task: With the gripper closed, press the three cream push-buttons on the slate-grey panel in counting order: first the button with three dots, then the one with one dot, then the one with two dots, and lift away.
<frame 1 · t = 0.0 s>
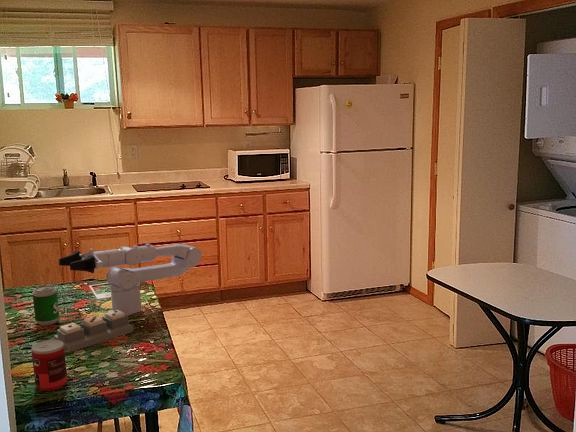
hand: (64, 264, 188), 22 cm above the table, tool horizontal, fingers open, 7 cm apart
three pip button: (93, 322, 185), point 5 cm above the table, slide at 0.0 cm
button panel: (94, 336, 186), on the table
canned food: (51, 385, 155), on the table
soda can: (47, 322, 198), on the table
two pip button: (115, 315, 190), point 5 cm above the table, slide at 0.0 cm
one pip button: (70, 329, 179), point 5 cm above the table, slide at 0.0 cm
photo frame: (112, 291, 230), on the table
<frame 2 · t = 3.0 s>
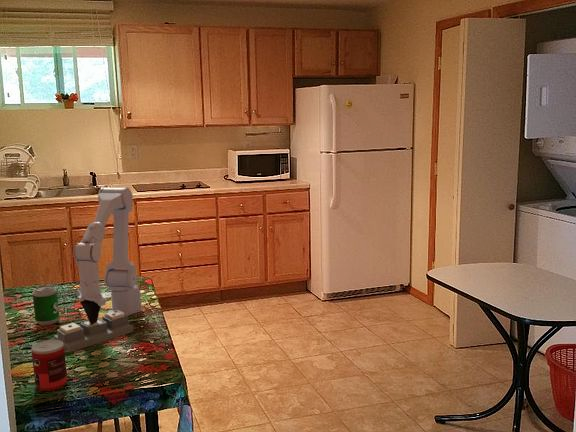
hand: (93, 322, 185), 5 cm above the table, tool pointing down, fingers closed, pressing on three pip button
three pip button: (93, 324, 185), point 4 cm above the table, slide at 0.9 cm, touching gripper
everything else where it was.
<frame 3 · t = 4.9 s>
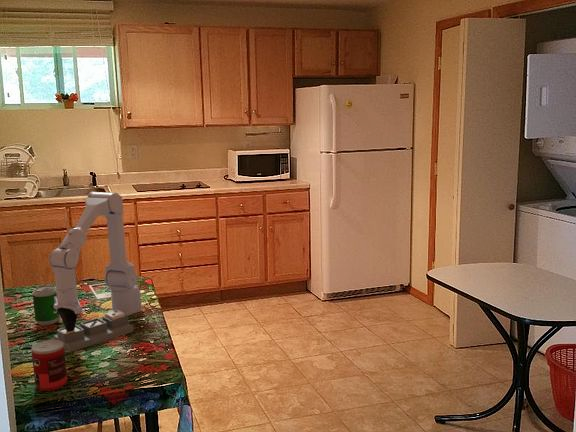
hand: (70, 330, 179), 4 cm above the table, tool pointing down, fingers closed, pressing on one pip button
three pip button: (93, 326, 185), point 3 cm above the table, slide at 1.5 cm
one pip button: (70, 333, 180), point 3 cm above the table, slide at 1.3 cm, touching gripper
everything else where it was.
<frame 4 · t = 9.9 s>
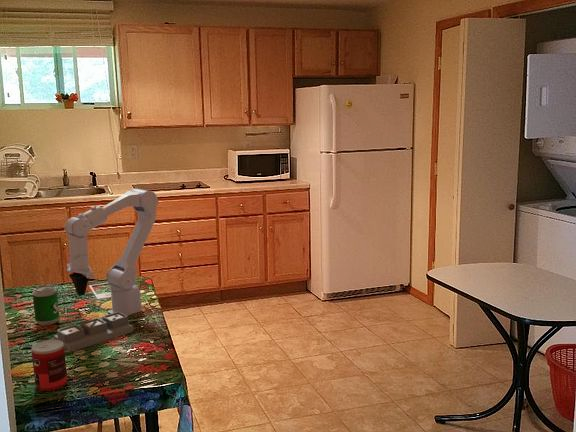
hand: (81, 294, 193), 10 cm above the table, tool pointing down, fingers closed
two pip button: (115, 320, 190), point 3 cm above the table, slide at 1.5 cm
one pip button: (70, 333, 180), point 3 cm above the table, slide at 1.5 cm
everything else where it was.
at the end: three pip button slide at 1.5 cm; one pip button slide at 1.5 cm; two pip button slide at 1.5 cm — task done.
